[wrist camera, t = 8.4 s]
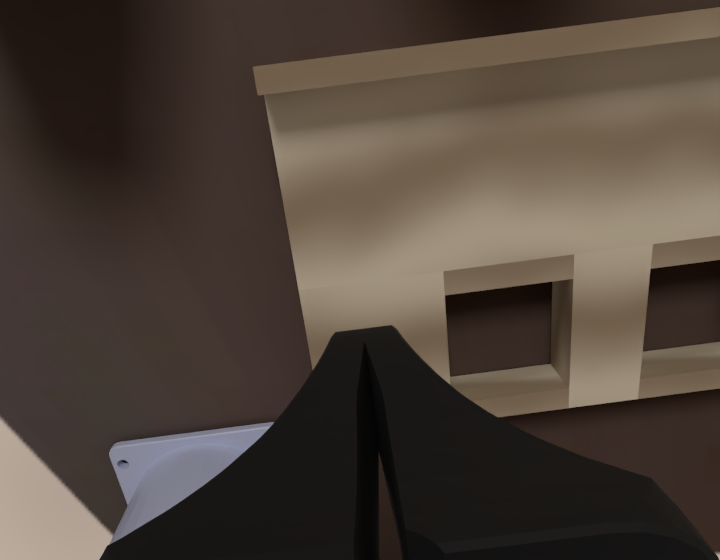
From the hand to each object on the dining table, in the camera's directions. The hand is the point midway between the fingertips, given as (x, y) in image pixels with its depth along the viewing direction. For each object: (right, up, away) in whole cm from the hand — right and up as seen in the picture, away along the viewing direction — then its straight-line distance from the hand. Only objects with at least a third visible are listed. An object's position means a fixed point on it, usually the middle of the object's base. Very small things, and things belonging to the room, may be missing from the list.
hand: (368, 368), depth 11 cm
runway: (+9, +4, +10) cm, 14 cm away
